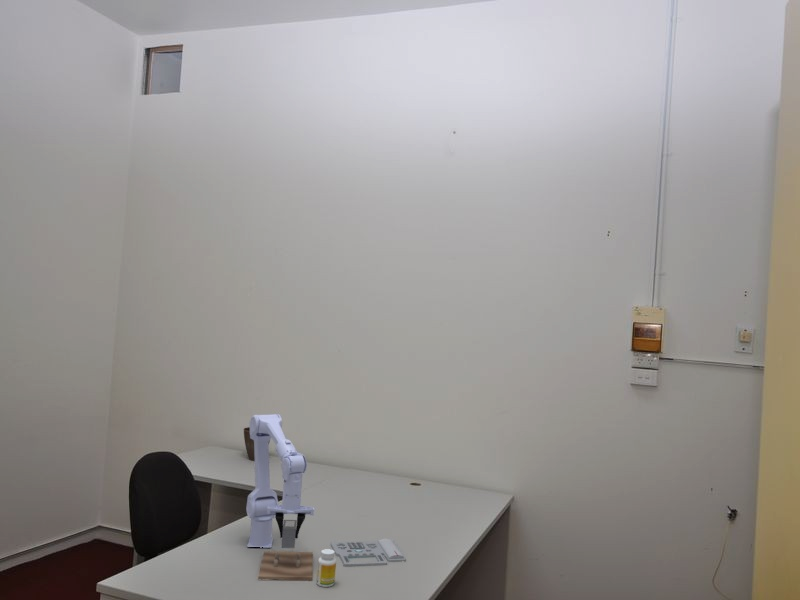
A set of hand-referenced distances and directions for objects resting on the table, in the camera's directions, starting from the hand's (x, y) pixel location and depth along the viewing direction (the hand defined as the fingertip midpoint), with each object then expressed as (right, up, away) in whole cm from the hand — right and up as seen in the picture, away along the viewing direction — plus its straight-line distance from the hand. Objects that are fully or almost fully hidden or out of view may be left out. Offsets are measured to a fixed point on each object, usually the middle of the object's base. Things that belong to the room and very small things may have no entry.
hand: (288, 536), depth 199 cm
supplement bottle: (+13, -10, -11) cm, 19 cm away
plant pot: (-42, -10, +137) cm, 143 cm away
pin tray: (-1, -9, 0) cm, 9 cm away
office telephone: (+25, -12, +15) cm, 31 cm away
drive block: (0, -2, 0) cm, 2 cm away
